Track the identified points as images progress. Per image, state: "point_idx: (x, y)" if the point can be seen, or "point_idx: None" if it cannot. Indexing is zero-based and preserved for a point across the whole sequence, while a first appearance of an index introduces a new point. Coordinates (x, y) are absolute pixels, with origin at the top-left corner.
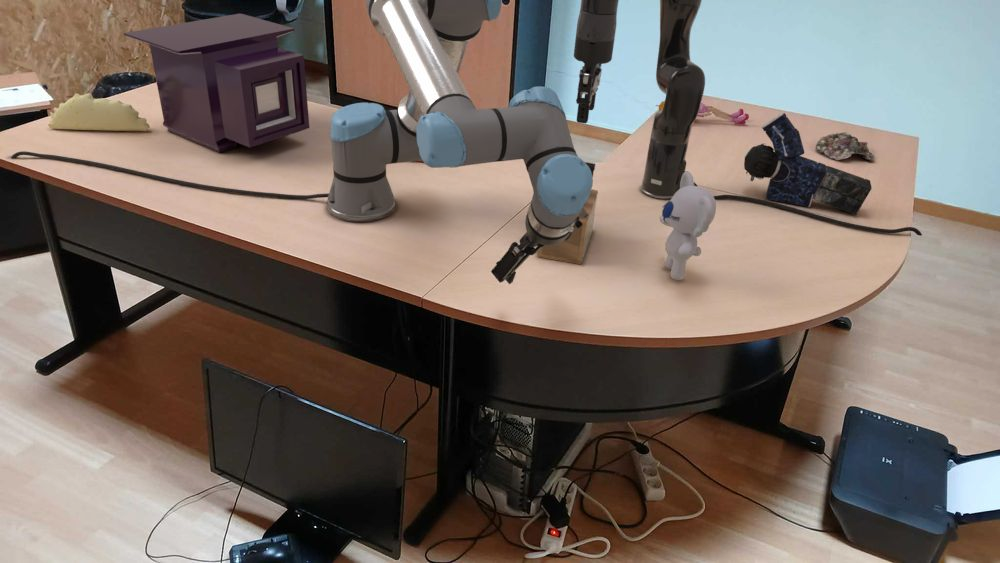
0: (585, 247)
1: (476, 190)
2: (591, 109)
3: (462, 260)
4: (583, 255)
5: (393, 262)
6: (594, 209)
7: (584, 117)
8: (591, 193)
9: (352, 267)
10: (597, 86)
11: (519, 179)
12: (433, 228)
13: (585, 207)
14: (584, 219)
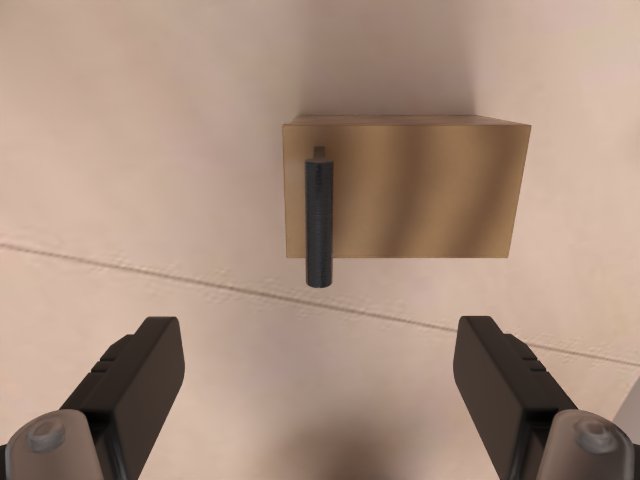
0: (423, 116)
1: (203, 394)
2: (176, 326)
3: None
4: (444, 115)
5: None
6: (316, 120)
7: (531, 359)
8: (314, 143)
9: None
10: (24, 458)
11: (96, 331)
12: (400, 417)
13: (429, 145)
14: (515, 135)
